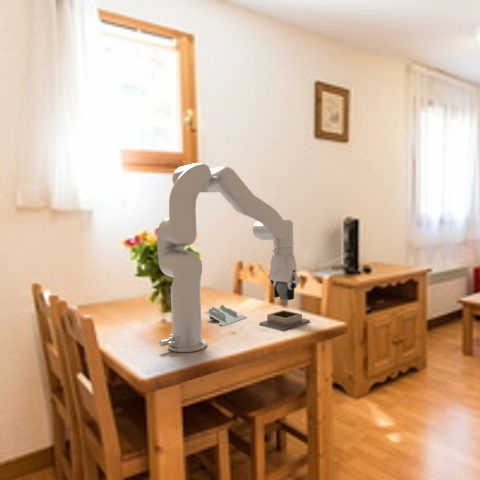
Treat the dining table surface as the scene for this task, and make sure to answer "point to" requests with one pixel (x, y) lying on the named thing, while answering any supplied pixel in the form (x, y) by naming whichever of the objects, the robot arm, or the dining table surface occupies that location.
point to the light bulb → (282, 292)
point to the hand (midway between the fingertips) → (284, 297)
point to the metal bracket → (224, 315)
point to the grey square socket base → (284, 320)
